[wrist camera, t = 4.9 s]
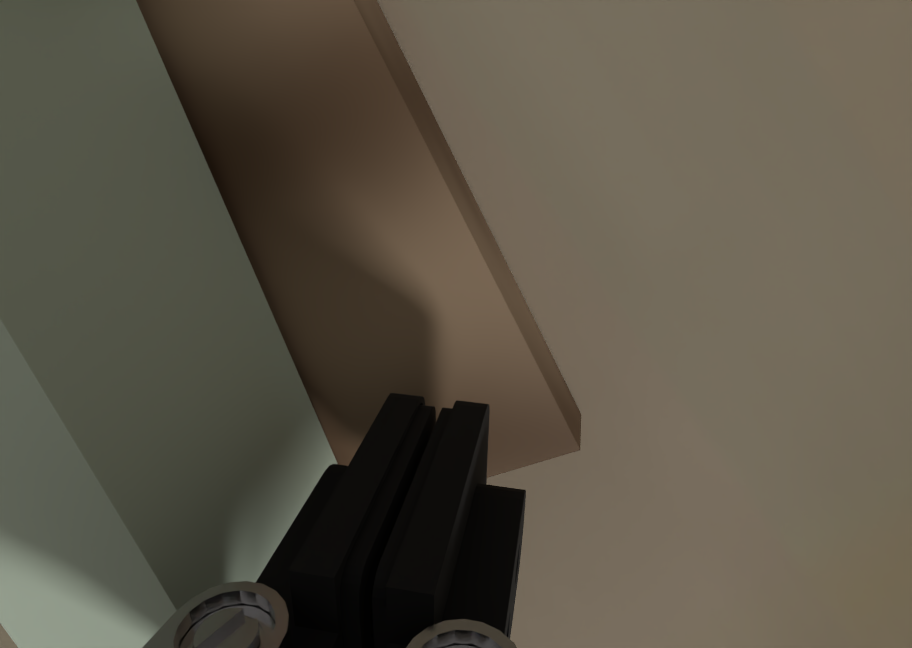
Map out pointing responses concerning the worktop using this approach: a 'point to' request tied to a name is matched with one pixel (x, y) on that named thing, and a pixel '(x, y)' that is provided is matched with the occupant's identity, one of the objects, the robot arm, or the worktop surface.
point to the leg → (127, 346)
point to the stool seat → (360, 221)
